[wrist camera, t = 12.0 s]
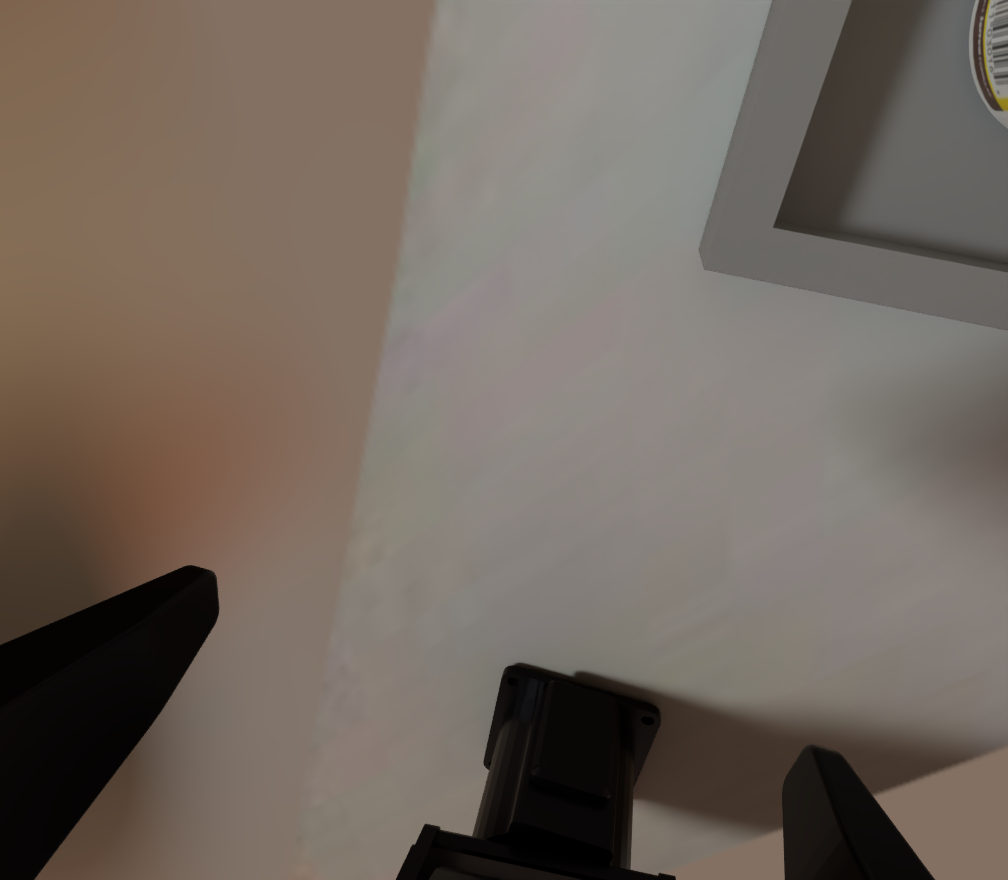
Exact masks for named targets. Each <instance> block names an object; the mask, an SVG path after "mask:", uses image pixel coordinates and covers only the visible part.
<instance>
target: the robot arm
mask: <svg viewBox="0 0 1008 880" xmlns="http://www.w3.org/2000/svg"><path fill="white" fill-rule="evenodd" d="M218 615H219V599H218V587H217V577H216V575H215V573H214V572H213V571H211V570H208V569H204V568H200V567H197V566H193V565H188V566H184V567H182V568H179V569H177V570H175V571H173V572H170V573H168V574H165V575H163V576H160V577H158V578H156V579H153V580H151V581H149V582H146V583H144V584H142V585H139V586H137V587H135V588H132V589H130V590H128V591H125V592H123V593H121V594H118V595H116V596H114V597H111V598H109V599H107V600H104V601H102V602H100V603H97V604H95V605H93V606H90V607H88V608H86V609H83V610H81V611H79V612H76V613H74V614H72V615H69V616H67V617H65V618H62V619H60V620H57V621H55V622H53V623H50V624H49V625H46V626H43V627H41V628H39V629H36V630H34V631H32V632H29V633H27V634H25V635H22V636H20V637H17V638H15V639H13V640H11V641H8V642H6V643H3V644H1V645H0V880H35V878H36V877H37V876H38V874H39V873H40V872H41V870H42V869H43V868H44V866H45V865H46V864H47V862H48V861H49V860H50V858H51V857H52V856H53V854H54V853H55V852H56V851H57V849H58V848H59V846H60V845H61V844H62V843H63V841H64V840H65V839H66V837H67V836H68V835H69V833H70V832H71V830H72V829H73V828H74V827H75V825H76V824H77V823H78V821H79V820H80V819H81V817H82V816H83V815H84V813H85V812H86V811H87V810H88V808H89V807H90V806H91V804H92V803H93V802H94V800H95V799H96V798H97V796H98V795H99V794H100V792H101V791H102V790H103V788H104V787H105V786H106V784H107V783H108V782H109V780H110V779H111V778H112V777H113V775H114V774H115V773H116V771H117V770H118V769H119V767H120V766H121V765H122V763H123V762H124V760H125V759H126V758H127V757H128V755H129V754H130V753H131V751H132V750H133V749H134V747H135V746H136V745H137V744H138V742H139V741H140V740H141V738H142V737H143V736H144V734H145V733H146V732H147V730H148V729H149V728H150V726H151V725H152V724H153V722H154V721H155V719H156V718H157V717H158V715H159V714H160V713H161V711H162V709H163V708H164V706H165V705H166V703H167V702H168V700H169V699H170V697H171V696H172V694H173V692H174V691H175V689H176V687H177V686H178V684H179V682H180V681H181V679H182V678H183V676H184V674H185V673H186V671H187V669H188V668H189V666H190V664H191V663H192V661H193V660H194V658H195V656H196V655H197V653H198V651H199V650H200V648H201V647H202V645H203V643H204V642H205V640H206V638H207V637H208V635H209V634H210V632H211V630H212V629H213V627H214V625H215V623H216V621H217V618H218ZM514 678H516V679H514ZM646 716H649V717H646ZM660 721H661V713H660V710H659V709H658V708H657V707H656V706H654V705H652V704H649V703H645V702H642V701H638V700H635V699H631V698H628V697H624V696H621V695H617V694H614V693H610V692H607V691H603V690H600V689H596V688H592V687H589V686H585V685H582V684H578V683H575V682H571V681H568V680H564V679H561V678H557V677H554V676H550V675H547V674H543V673H540V672H536V671H533V670H529V669H526V668H522V667H519V666H513V665H512V666H508V667H506V668H505V669H504V672H503V675H502V679H501V683H500V688H499V693H498V697H497V702H496V706H495V711H494V716H493V720H492V725H491V729H490V734H489V739H488V743H487V748H486V752H485V757H484V766H485V767H486V768H487V769H488V770H489V773H488V777H487V781H486V785H485V789H484V793H483V796H482V800H481V804H480V808H479V812H478V816H477V819H476V823H475V827H474V831H473V835H472V836H468V835H463V834H458V833H454V832H449V831H444V830H440V827H439V826H434V825H430V824H425V825H424V827H423V829H422V831H421V833H420V835H419V837H418V839H417V842H416V844H415V845H412V846H411V848H410V851H409V853H408V855H407V857H406V859H405V861H404V863H403V865H402V867H401V870H400V872H399V874H398V876H397V878H396V880H676V878H675V876H672V875H667V874H663V873H659V874H658V876H657V875H652V874H647V873H643V872H638V871H633V870H630V868H631V842H632V816H633V790H634V786H635V783H636V781H637V778H638V776H639V774H640V771H641V769H642V767H643V764H644V762H645V759H646V757H647V755H648V752H649V750H650V747H651V745H652V743H653V740H654V738H655V735H656V733H657V731H658V728H659V726H660ZM782 805H783V837H784V866H785V867H784V868H785V880H935V879H934V878H933V876H932V875H931V874H930V872H929V871H928V870H927V868H926V867H925V866H924V864H923V863H922V862H921V860H920V859H919V858H918V856H917V855H916V854H915V852H914V851H913V849H912V848H911V847H910V845H909V844H908V843H907V841H906V840H905V839H904V837H903V836H902V835H901V833H900V832H899V831H898V830H897V828H896V827H895V825H894V824H893V823H892V821H891V820H890V819H889V817H888V816H887V815H886V813H885V812H884V810H883V809H882V808H881V807H880V805H879V804H878V802H877V801H876V800H875V798H874V797H873V796H872V794H871V793H870V791H869V790H868V789H867V787H866V786H865V785H864V783H863V782H862V781H861V779H860V778H859V777H858V775H857V774H856V773H855V771H854V770H853V769H852V767H851V766H850V765H849V763H848V762H847V760H846V759H845V758H844V757H843V756H842V755H841V754H840V753H839V752H837V751H835V750H831V749H828V748H825V747H821V746H818V745H814V744H809V745H807V746H805V747H804V749H803V750H802V752H801V753H800V755H799V756H798V758H797V760H796V761H795V763H794V765H793V766H792V768H791V769H790V771H789V773H788V774H787V776H786V778H785V781H784V784H783V791H782Z"/></svg>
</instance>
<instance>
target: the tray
mask: <svg viewBox="0 0 1008 880" xmlns="http://www.w3.org/2000/svg"><path fill="white" fill-rule="evenodd" d="M975 1H976V0H773V1H772V4H771V8H770V11H769V14H768V18H767V21H766V24H765V28H764V31H763V35H762V38H761V41H760V45H759V48H758V51H757V55H756V58H755V62H754V65H753V68H752V72H751V75H750V78H749V82H748V85H747V89H746V92H745V95H744V99H743V102H742V105H741V109H740V112H739V116H738V119H737V122H736V126H735V129H734V132H733V136H732V139H731V142H730V146H729V149H728V153H727V156H726V159H725V163H724V166H723V169H722V173H721V176H720V180H719V183H718V186H717V190H716V193H715V196H714V200H713V203H712V207H711V210H710V213H709V217H708V220H707V223H706V227H705V230H704V234H703V237H702V240H701V244H700V247H699V253H700V256H701V260H702V263H703V267H704V270H709V271H714V272H719V273H724V274H729V275H734V276H739V277H744V278H749V279H754V280H759V281H764V282H769V283H774V284H779V285H784V286H789V287H794V288H799V289H804V290H809V291H814V292H819V293H824V294H829V295H834V296H839V297H844V298H849V299H854V300H859V301H864V302H869V303H874V304H879V305H884V306H889V307H894V308H899V309H904V310H908V311H913V312H918V313H923V314H928V315H933V316H938V317H943V318H948V319H953V320H958V321H963V322H968V323H973V324H978V325H983V326H988V327H993V328H998V329H1003V330H1008V129H1007V128H1006V127H1005V126H1003V125H1002V124H1001V123H1000V122H999V121H998V120H997V119H996V118H995V117H994V116H993V115H992V113H991V112H990V111H989V110H988V108H987V107H986V105H985V103H984V102H983V100H982V98H981V96H980V94H979V93H978V90H977V88H976V85H975V82H974V79H973V75H972V72H971V65H970V59H969V32H970V24H971V17H972V12H973V8H974V4H975Z"/></svg>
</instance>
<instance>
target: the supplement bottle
mask: <svg viewBox="0 0 1008 880" xmlns="http://www.w3.org/2000/svg"><path fill="white" fill-rule="evenodd" d="M969 59H970V65H971V72H972V75H973V79H974V82H975V85H976V88H977V90H978V93H979V94H980V96H981V98H982V100H983V102H984V103H985V105H986V107H987V108H988V110H989V111H990V112H991V113H992V115H993V116H994V117H995V118H996V119H997V120H998V121H999V122H1000V123H1001V124H1002V125H1003V126H1005V127H1006V128H1007V129H1008V0H976V1H975V4H974V8H973V12H972V17H971V24H970V32H969Z"/></svg>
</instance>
